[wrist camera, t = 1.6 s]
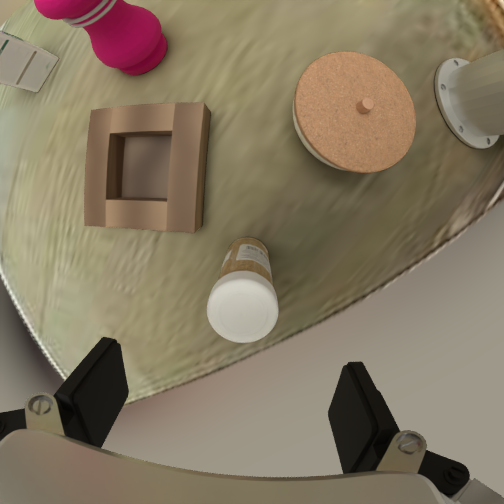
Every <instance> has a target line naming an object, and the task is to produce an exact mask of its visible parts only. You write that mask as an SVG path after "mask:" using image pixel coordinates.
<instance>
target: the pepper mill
mask: <svg viewBox="0 0 504 504" xmlns="http://www.w3.org/2000/svg"><path fill="white" fill-rule="evenodd" d="M34 3H35V6H36V8H37V10H38V11H39V12H40V13H41V14H42V15H43V16H45V17H47V18H50V19H57V20H58V19H63V21H64V22H66V23H68V24H69V25H70V26H72V27H75V28H79V27H83V28H84V29H85V30H86V31H87V32H88V34H89V36H90V39H91V43H92V48H93V50H94V52H95V54H96V56H97V57H98V58H99V59H100V60H101V61H102V62H103V63H104V64H105V65H107V66H109V67H112V68H119V69H120V70H121V71H123V72H124V73H126V74H130V75H139V74H143V73H145V72H148V71H150V70H151V69H153V68H154V67H155V66H157V65H158V64H159V62H160V61H161V60H162V59H163V57H164V55H165V53H166V50H167V41H166V38H165V37H164V35H163V34H162V33H161V24H160V22H159V20H158V19H157V17H156V16H155V15H154V14H153V13H152V12H150V11H148V10H147V9H145V8H142V7H139V6H135V5H130V4H128V3H126V2H125V1H123V0H34Z"/></svg>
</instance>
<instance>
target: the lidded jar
mask: <svg viewBox="0 0 504 504" xmlns="http://www.w3.org/2000/svg"><path fill="white" fill-rule="evenodd" d="M293 121H294V125H295V129H296V131H297V134H298V136H299V138H300V140H301V141H302V143H303V144H304V146H305V147H306V148H307V150H308V151H309V152H310V153H311V154H312V155H313V156H315V157H316V158H317V159H319V160H320V161H321V162H323V163H325V164H327V165H329V166H331V167H334V168H337V169H340V170H345V171H351V172H356V173H372V172H379V171H382V170H385V169H388V168H389V167H391V166H393V165H395V164H396V163H397V162H399V161H400V160H401V159H402V158H403V157H404V155H405V154H406V153H407V151H408V150H409V148H410V146H411V144H412V141H413V139H414V134H415V129H416V117H415V110H414V106H413V102H412V99H411V97H410V95H409V92H408V91H407V89H406V87H405V85H404V84H403V83H402V81H401V80H400V79H399V77H398V76H397V75H396V74H395V73H394V72H393V71H392V70H391V69H390V68H388V67H387V66H386V65H384V64H383V63H381V62H380V61H378V60H376V59H374V58H372V57H370V56H367V55H364V54H361V53H356V52H349V51H345V52H334V53H330V54H327V55H324V56H322V57H320V58H318V59H317V60H315V61H314V62H313V63H311V64H310V65H309V66H308V67H307V68H306V70H305V71H304V72H303V74H302V76H301V77H300V79H299V81H298V84H297V87H296V91H295V96H294V100H293Z"/></svg>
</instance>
